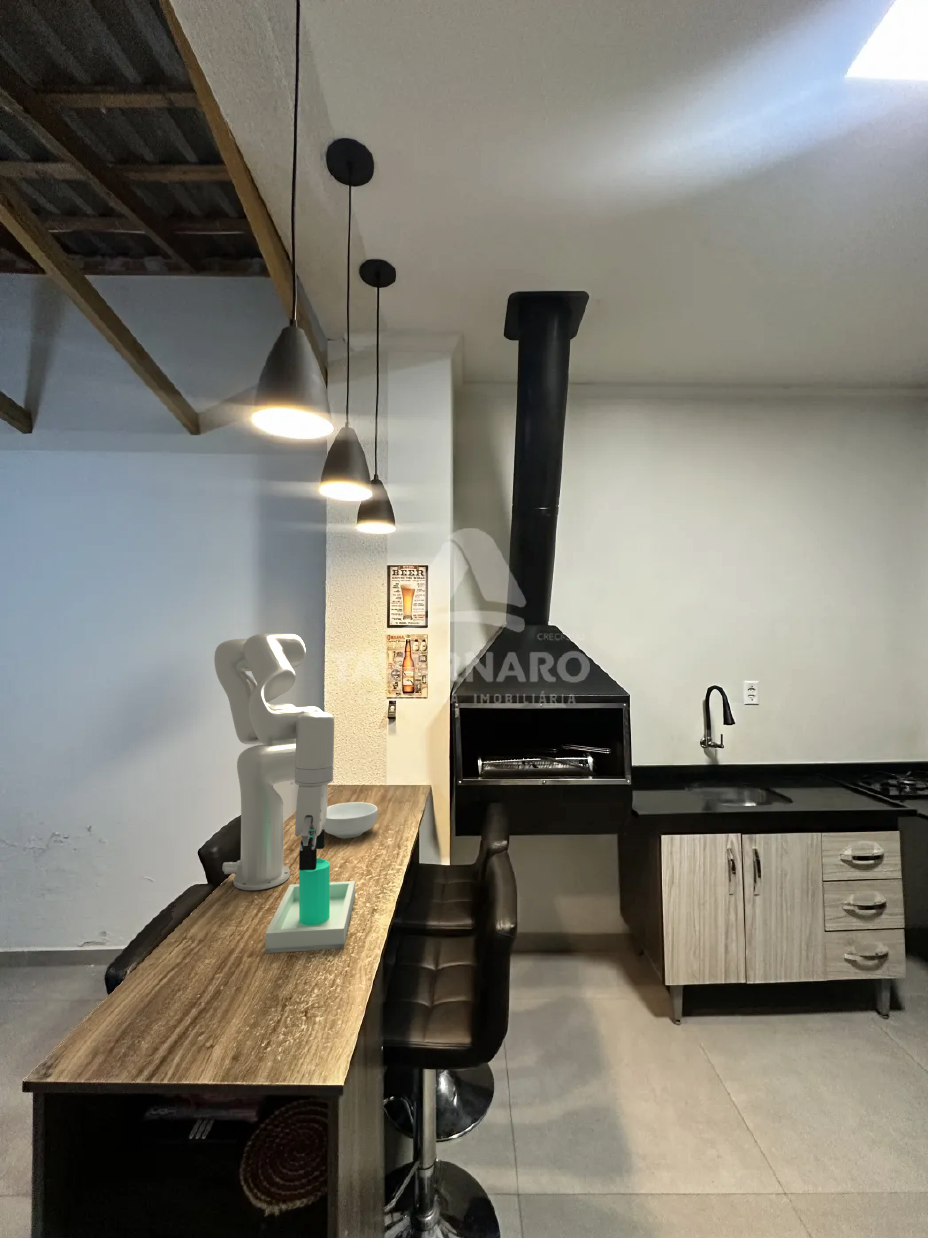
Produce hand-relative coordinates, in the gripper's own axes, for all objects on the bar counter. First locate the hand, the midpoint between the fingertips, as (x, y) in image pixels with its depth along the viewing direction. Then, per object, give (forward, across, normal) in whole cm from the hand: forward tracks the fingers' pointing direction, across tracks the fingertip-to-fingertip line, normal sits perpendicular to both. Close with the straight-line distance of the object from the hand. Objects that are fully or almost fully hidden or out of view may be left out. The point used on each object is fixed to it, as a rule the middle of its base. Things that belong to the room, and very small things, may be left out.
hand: (312, 858), depth 109 cm
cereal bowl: (+14, -50, +2) cm, 52 cm away
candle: (+12, +1, +1) cm, 12 cm away
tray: (+12, +1, +1) cm, 12 cm away
